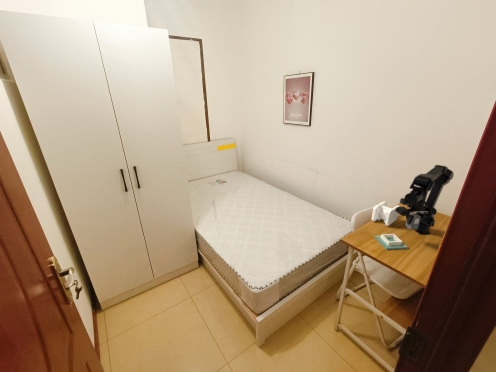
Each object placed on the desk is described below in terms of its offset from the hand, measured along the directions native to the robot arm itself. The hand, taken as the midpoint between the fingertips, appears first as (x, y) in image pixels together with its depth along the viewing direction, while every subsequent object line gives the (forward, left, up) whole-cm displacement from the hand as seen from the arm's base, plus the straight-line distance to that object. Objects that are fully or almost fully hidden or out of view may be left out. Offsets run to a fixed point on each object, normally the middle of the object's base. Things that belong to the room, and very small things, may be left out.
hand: (412, 223), depth 122 cm
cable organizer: (0, -23, -12) cm, 26 cm away
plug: (0, 0, -2) cm, 2 cm away
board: (+10, 0, -12) cm, 15 cm away
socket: (+10, 0, -12) cm, 15 cm away
